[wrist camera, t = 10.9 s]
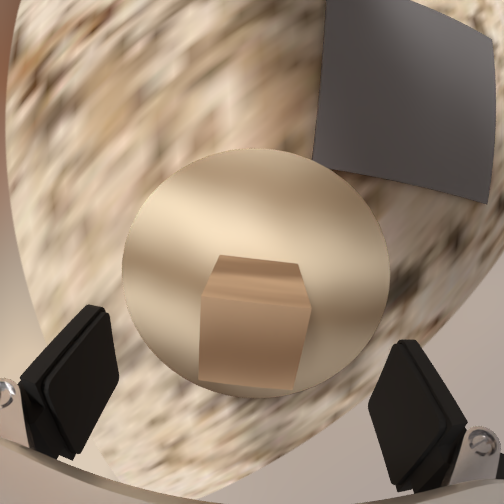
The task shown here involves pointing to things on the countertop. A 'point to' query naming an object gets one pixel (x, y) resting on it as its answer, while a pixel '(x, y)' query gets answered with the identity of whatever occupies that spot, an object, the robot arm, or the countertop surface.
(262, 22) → the countertop surface
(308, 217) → the lid
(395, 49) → the mat
